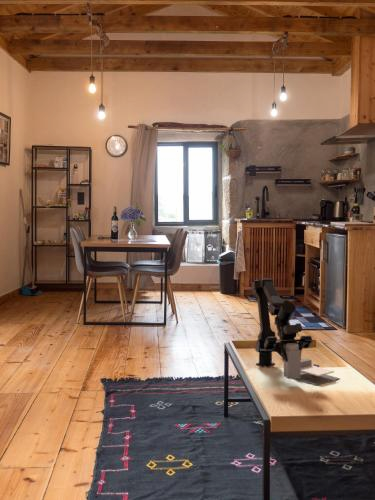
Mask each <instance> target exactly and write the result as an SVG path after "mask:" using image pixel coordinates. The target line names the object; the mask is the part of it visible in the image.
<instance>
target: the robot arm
mask: <svg viewBox="0 0 375 500" xmlns="http://www.w3.org/2000/svg"><path fill="white" fill-rule="evenodd" d="M251 291H252V294H253V296H254V297H255V298H256V299H257V309H258V316H259V317H258V319H259V320H258V321H259V328H260V330H259V333H258V334H257V340H256V342H255V345H254V349H255V351H256V352H257V353H258V362H257V363H255V365H256V366H262V367H272V366H274V365H276V363H275V362H273V353H275V352H276V353H277V354H278V355H279V356H280V357H281V358H282V360H283V361H284V360H285V361H286V362H287V361H288V359H287V355H286V352H285V349H284V345H286V343H296V344H298V345H299V348H298V349H299V350H301V352H303V351H302V350H303V349H309V348H310V347H311V344H312V343H313V337H312V336H311V335H301V336H300V338H298V339H295V338H296V337H297V334H299V333H301V332H302V331H303V326H302V324H301V322H299V323H298V322H297V323H295V324H291V323H290V321H291V320H292V319H293V317H294V314H295V312H296V310H297V308H296V306H295V305H294V303H292V302H291V301H289V299H284V298H282V297H280V295H279V293H278V292H277V289H276V287H275V285H274V280H273V279H272V278H261V279H254V280H253V281H252V282H251ZM270 315H271V316H275V318H274V322H273V323H274V326H276V330H277V334H276V332H275V331H273V329H272V328H271V327H272V326H271V318H270ZM276 335H277V336H276ZM278 337H279V338H278Z"/></svg>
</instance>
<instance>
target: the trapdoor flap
mask: <svg viewBox="0 0 375 500" xmlns="http://www.w3.org/2000/svg"><path fill="white" fill-rule="evenodd" d="M312 362H313V361H312V359H310V358H301V372H304V373H308V374H312V375H315V376H322V375H330V374H333V373H335V371H334V370H331V369H327V368H323V367H320V366H319V367H316V366H313V363H312Z"/></svg>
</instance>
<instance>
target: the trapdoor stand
mask: <svg viewBox="0 0 375 500" xmlns="http://www.w3.org/2000/svg"><path fill="white" fill-rule="evenodd" d="M312 366H316V367H320V364H317V363H314V364H313V363H312ZM340 379H341V378H339V377H336V376H333V375H330V374H326V375H322V376H315V375H312V374H308V373H304V372H301V375H300V378H297V379H294V380H295V381H299V382H303V383H305V384H310V385H313V386H320V385H323V384H327V383H331V382H335V381H338V380H340Z"/></svg>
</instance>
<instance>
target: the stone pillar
mask: <svg viewBox="0 0 375 500" xmlns="http://www.w3.org/2000/svg"><path fill="white" fill-rule="evenodd" d="M298 348H299V345H298V344H296V343H286V348H284V349H285V352H286V355H287V359H288V361H287V362H286V361H285V360H284V359H283V377H285V378H286V379H288V380H295V379H297V378H300V375H301V359H302V351H301V350H299V349H298Z"/></svg>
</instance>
